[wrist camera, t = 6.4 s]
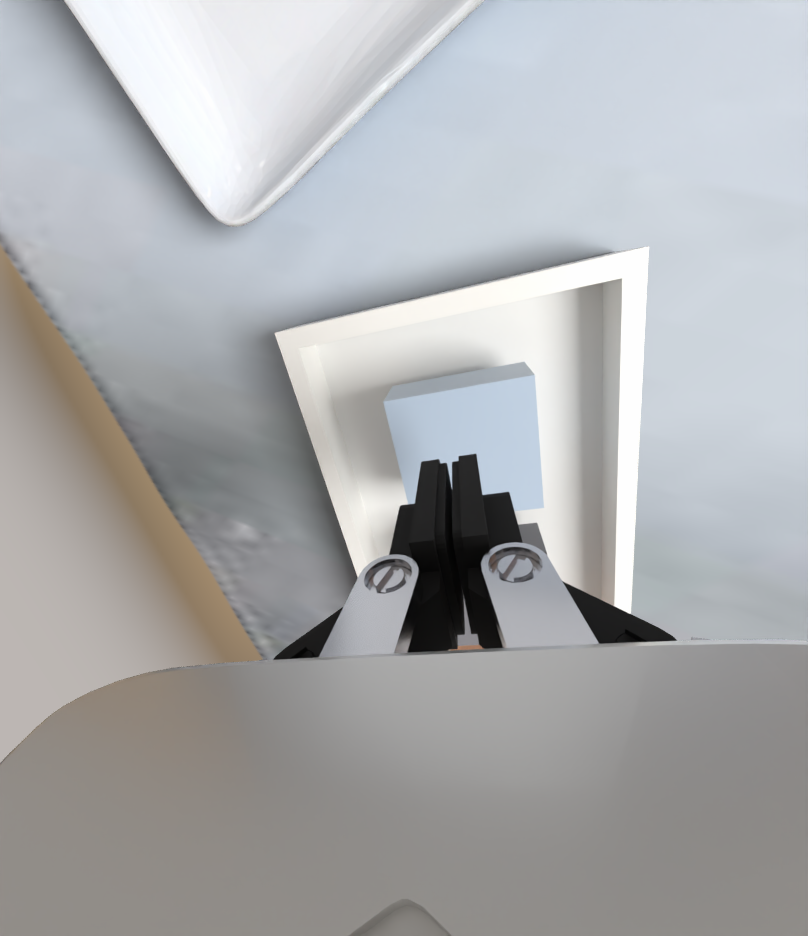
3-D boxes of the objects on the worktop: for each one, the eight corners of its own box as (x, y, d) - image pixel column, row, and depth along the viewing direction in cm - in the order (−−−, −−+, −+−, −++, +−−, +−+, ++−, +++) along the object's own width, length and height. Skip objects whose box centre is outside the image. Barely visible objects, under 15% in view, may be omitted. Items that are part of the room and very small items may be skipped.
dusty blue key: (524, 361, 16) (534, 374, 13) (533, 480, 18) (544, 507, 16) (392, 385, 17) (383, 401, 15) (417, 494, 19) (412, 522, 17)
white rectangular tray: (615, 251, 15) (648, 246, 13) (608, 692, 27) (624, 738, 24) (300, 324, 18) (274, 332, 16) (416, 695, 30) (411, 736, 27)
